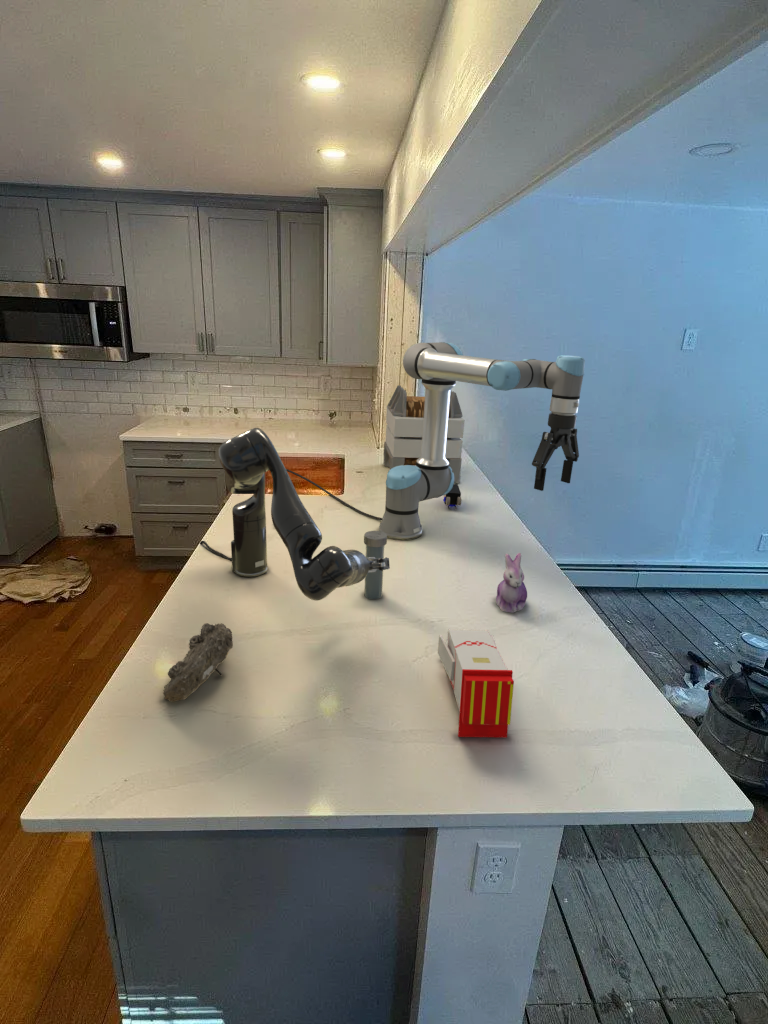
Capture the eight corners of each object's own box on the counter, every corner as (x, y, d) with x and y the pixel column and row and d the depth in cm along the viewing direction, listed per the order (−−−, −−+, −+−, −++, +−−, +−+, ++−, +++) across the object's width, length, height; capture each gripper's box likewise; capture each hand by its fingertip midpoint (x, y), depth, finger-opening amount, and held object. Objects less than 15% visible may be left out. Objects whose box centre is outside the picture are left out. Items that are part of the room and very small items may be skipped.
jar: (372, 589, 160) (374, 531, 154) (385, 594, 157) (388, 536, 151) (360, 595, 156) (362, 536, 150) (374, 601, 153) (376, 541, 147)
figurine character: (461, 514, 225) (456, 498, 239) (463, 497, 222) (458, 482, 235) (444, 513, 225) (440, 498, 239) (446, 496, 222) (442, 481, 235)
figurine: (509, 617, 148) (516, 565, 143) (485, 599, 156) (491, 550, 151) (537, 610, 152) (544, 559, 147) (512, 593, 161) (519, 544, 156)
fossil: (187, 626, 130) (233, 595, 125) (216, 654, 133) (262, 625, 128) (141, 695, 110) (194, 662, 105) (176, 726, 113) (229, 696, 108)
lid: (373, 536, 155) (374, 528, 155) (391, 542, 152) (391, 534, 151) (359, 542, 151) (359, 534, 150) (376, 549, 147) (377, 541, 147)
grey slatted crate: (382, 463, 289) (386, 382, 275) (445, 464, 293) (451, 384, 279) (390, 482, 257) (394, 392, 243) (460, 483, 261) (468, 394, 247)
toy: (488, 613, 130) (523, 677, 101) (484, 667, 133) (517, 744, 104) (435, 612, 130) (455, 676, 101) (432, 666, 133) (451, 743, 103)
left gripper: (378, 548, 119) (392, 546, 135) (313, 552, 122) (334, 550, 138) (381, 583, 119) (394, 577, 135) (316, 587, 121) (336, 581, 137)
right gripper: (548, 419, 148) (537, 496, 155) (598, 411, 163) (586, 482, 171) (525, 414, 153) (515, 489, 160) (575, 407, 169) (564, 476, 176)
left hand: (363, 563), depth 136 cm, fingers open, 8 cm apart
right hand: (552, 485), depth 166 cm, fingers open, 13 cm apart
